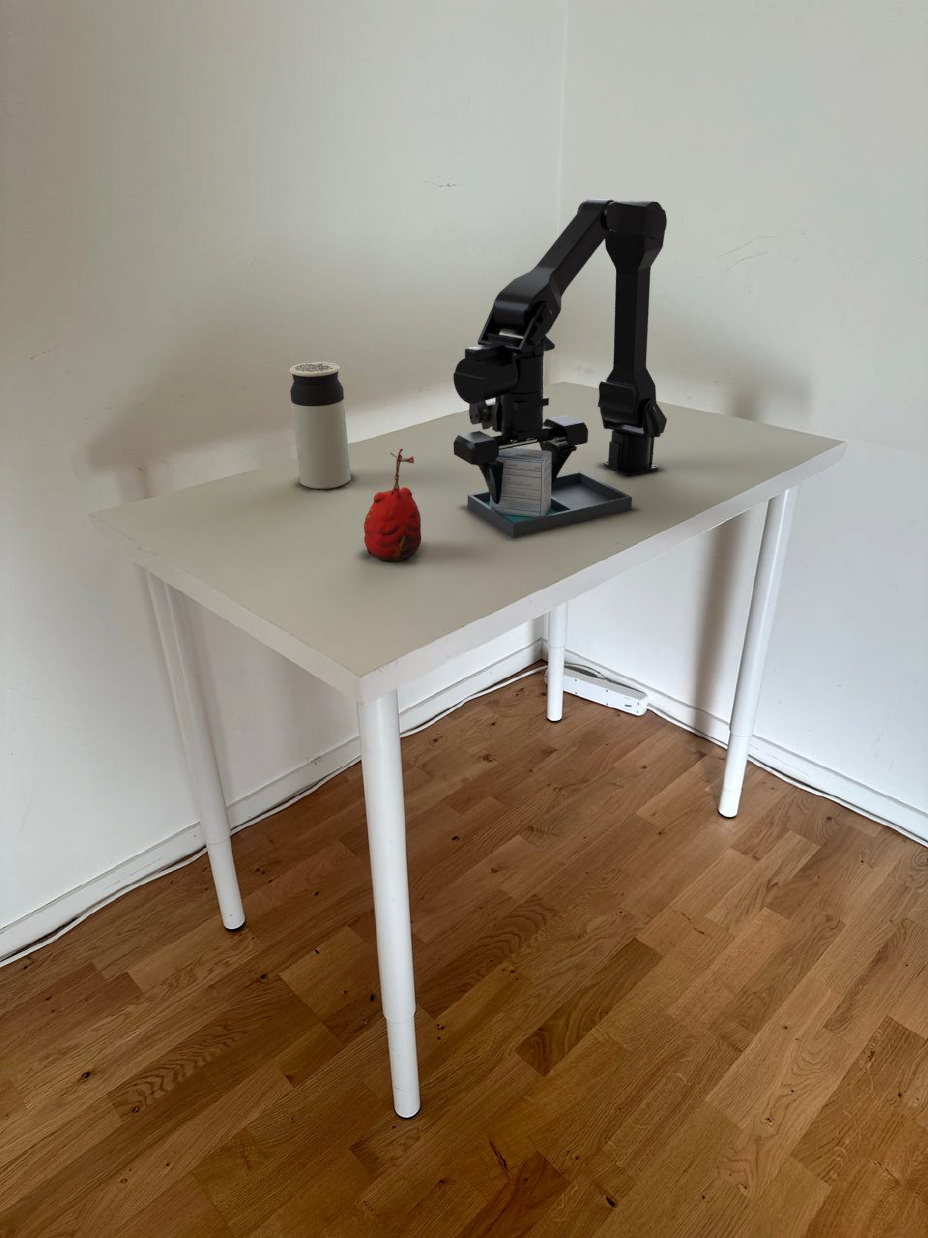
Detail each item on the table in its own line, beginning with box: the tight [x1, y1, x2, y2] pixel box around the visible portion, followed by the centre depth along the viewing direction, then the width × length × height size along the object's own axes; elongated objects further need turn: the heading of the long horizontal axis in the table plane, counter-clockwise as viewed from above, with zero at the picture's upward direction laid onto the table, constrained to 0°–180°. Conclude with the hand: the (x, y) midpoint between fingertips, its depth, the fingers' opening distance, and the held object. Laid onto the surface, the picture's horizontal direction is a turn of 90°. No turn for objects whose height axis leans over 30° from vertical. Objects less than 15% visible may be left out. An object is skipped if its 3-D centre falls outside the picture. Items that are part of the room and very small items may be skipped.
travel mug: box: [289, 361, 352, 490], centre depth 140 cm, size 8×8×18 cm
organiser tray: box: [467, 470, 633, 539], centre depth 132 cm, size 20×13×2 cm, turn 118°
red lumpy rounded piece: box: [363, 448, 422, 562], centre depth 116 cm, size 8×7×15 cm
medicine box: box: [491, 447, 552, 517], centre depth 128 cm, size 8×4×9 cm, turn 70°
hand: (521, 497), depth 129 cm, fingers closed on medicine box, 8 cm apart
